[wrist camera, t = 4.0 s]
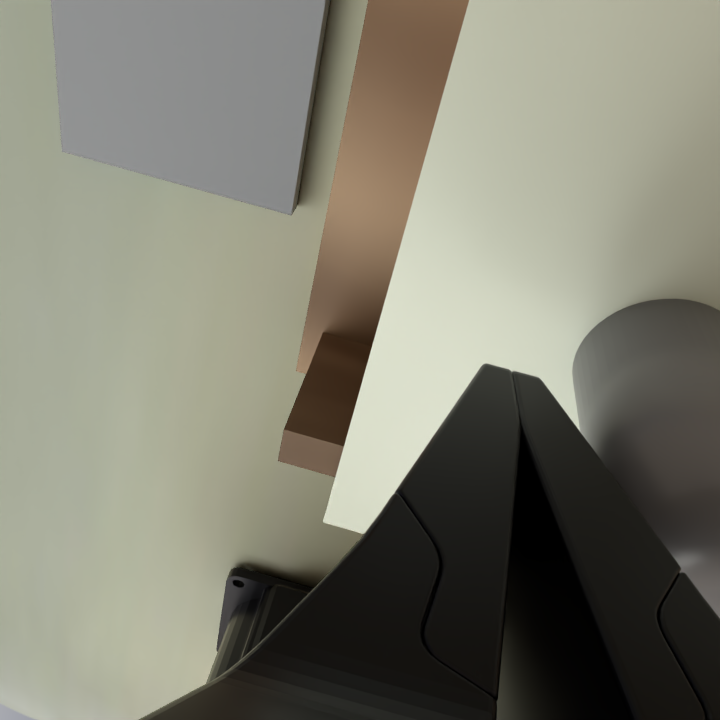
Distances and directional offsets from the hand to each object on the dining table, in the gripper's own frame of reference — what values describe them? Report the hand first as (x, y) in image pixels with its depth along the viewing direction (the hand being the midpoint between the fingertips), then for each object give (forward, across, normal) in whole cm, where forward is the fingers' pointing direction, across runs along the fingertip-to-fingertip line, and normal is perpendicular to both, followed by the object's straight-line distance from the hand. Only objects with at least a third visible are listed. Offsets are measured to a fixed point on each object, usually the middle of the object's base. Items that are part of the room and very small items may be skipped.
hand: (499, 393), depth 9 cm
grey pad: (+8, +8, -2) cm, 11 cm away
